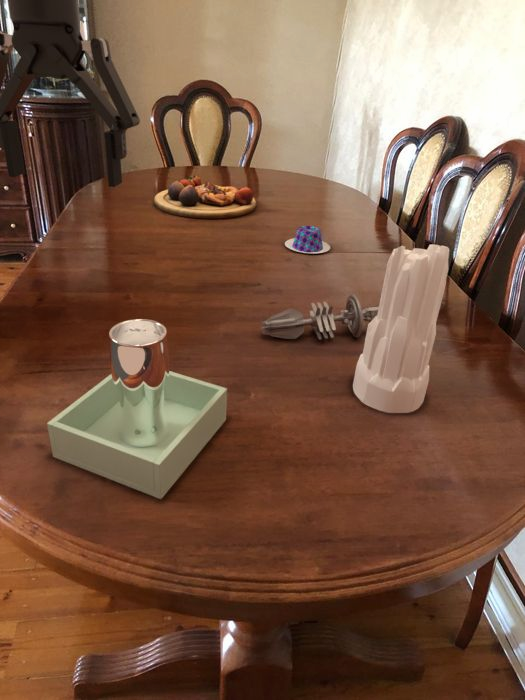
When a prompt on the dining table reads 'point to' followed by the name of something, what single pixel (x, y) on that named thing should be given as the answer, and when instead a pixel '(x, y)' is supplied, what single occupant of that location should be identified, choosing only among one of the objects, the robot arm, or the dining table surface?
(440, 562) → the dining table surface
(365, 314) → the spaceship
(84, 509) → the dining table surface
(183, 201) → the wooden plate
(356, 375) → the decorative vase
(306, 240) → the pudding
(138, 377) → the beer glass
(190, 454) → the tub
